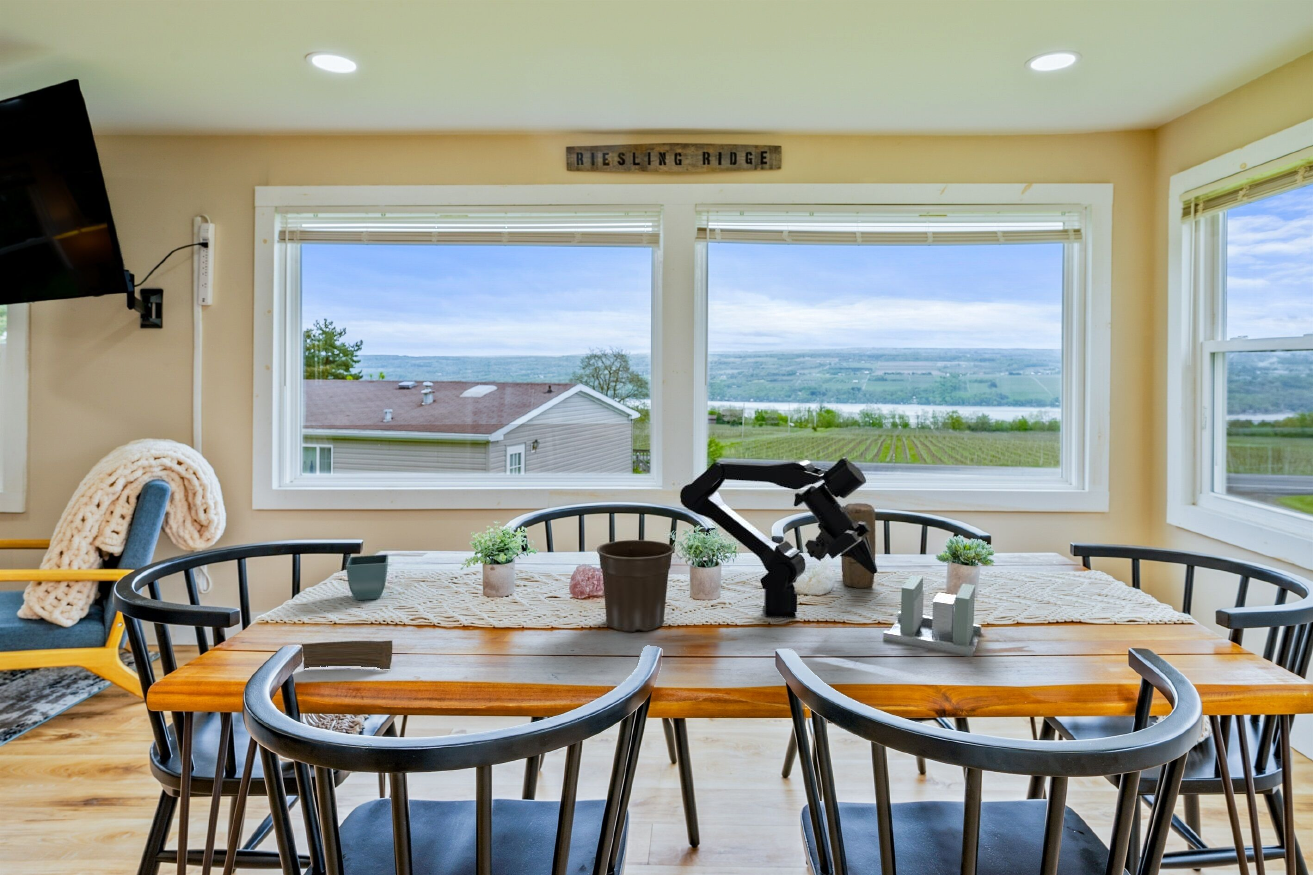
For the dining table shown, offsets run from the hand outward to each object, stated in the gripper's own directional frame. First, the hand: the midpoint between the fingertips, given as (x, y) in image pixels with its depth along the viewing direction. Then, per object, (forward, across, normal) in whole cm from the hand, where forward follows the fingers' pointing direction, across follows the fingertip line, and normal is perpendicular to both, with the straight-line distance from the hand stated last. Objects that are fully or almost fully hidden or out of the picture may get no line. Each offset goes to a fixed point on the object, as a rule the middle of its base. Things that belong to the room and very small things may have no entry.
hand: (875, 573), depth 146 cm
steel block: (+17, +1, +3) cm, 17 cm away
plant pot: (-20, +17, -44) cm, 51 cm away
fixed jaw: (+19, +1, +6) cm, 20 cm away
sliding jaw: (+13, 0, -1) cm, 13 cm away
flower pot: (-61, +29, -93) cm, 115 cm away
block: (+2, -33, -13) cm, 35 cm away
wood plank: (-41, +60, -72) cm, 102 cm away
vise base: (+17, 0, +1) cm, 17 cm away
